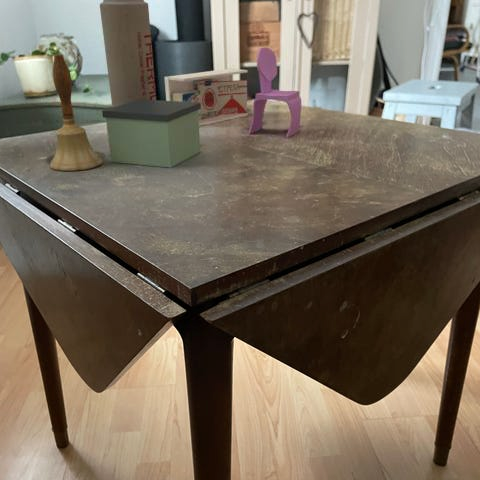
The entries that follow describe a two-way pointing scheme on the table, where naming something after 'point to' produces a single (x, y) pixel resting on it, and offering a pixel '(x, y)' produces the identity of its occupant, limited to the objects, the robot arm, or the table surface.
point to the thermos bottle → (128, 50)
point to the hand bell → (70, 128)
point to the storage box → (153, 132)
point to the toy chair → (273, 93)
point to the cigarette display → (211, 94)
